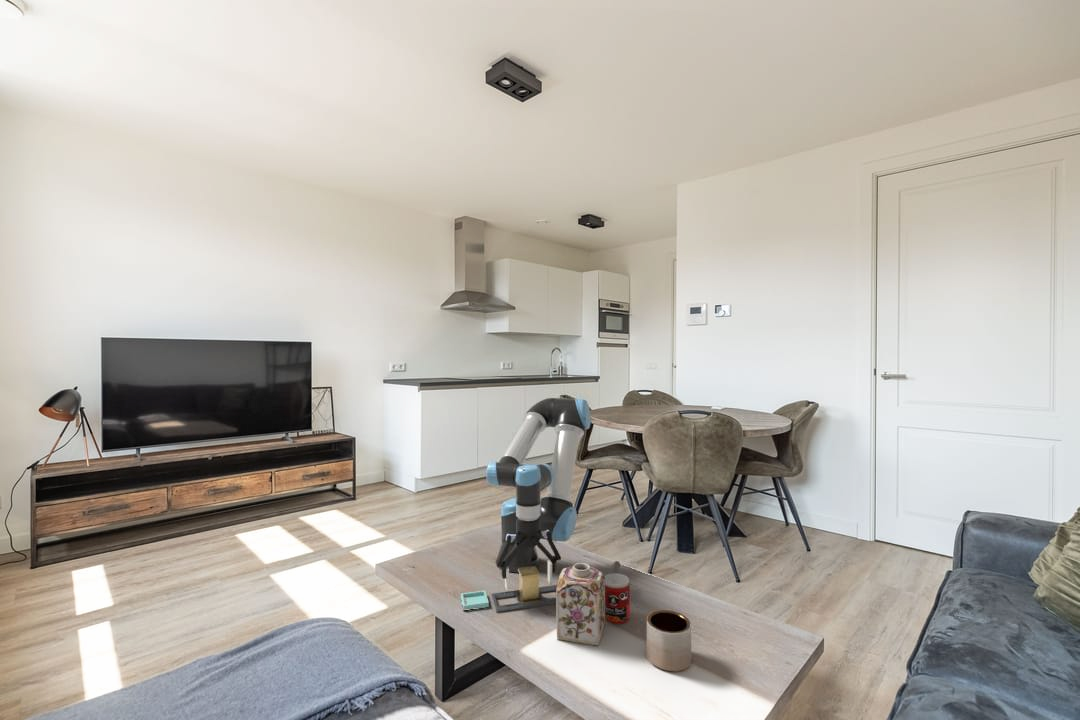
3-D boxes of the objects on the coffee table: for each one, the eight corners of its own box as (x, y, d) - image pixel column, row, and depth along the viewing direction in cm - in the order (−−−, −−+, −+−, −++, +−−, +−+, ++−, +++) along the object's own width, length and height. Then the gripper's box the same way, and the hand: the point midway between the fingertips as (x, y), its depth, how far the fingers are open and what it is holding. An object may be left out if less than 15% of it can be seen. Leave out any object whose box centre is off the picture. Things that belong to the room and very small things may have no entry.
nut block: (535, 594, 153) (535, 566, 153) (540, 603, 148) (539, 574, 148) (518, 596, 152) (518, 568, 152) (522, 605, 146) (521, 576, 146)
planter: (664, 678, 114) (664, 638, 113) (637, 652, 124) (637, 614, 123) (701, 666, 118) (701, 627, 118) (672, 641, 128) (672, 605, 128)
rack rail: (558, 588, 157) (558, 584, 157) (567, 602, 148) (567, 598, 148) (491, 597, 151) (491, 593, 151) (496, 612, 143) (496, 608, 143)
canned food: (599, 621, 137) (599, 583, 137) (605, 607, 145) (605, 571, 145) (626, 627, 135) (626, 587, 135) (631, 612, 142) (631, 575, 142)
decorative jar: (606, 622, 137) (605, 559, 137) (599, 647, 126) (599, 578, 125) (564, 616, 140) (564, 555, 140) (555, 640, 129) (554, 573, 129)
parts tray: (485, 595, 153) (485, 590, 153) (488, 607, 145) (488, 602, 145) (460, 598, 151) (460, 593, 151) (463, 611, 143) (463, 606, 143)
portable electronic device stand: (599, 584, 160) (599, 558, 160) (623, 587, 158) (623, 561, 157) (595, 597, 151) (595, 570, 151) (620, 600, 149) (620, 573, 149)
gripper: (563, 509, 156) (563, 575, 156) (486, 516, 150) (486, 584, 150) (570, 517, 149) (571, 585, 149) (490, 524, 143) (490, 596, 143)
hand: (528, 585), depth 150 cm, fingers open, 13 cm apart
